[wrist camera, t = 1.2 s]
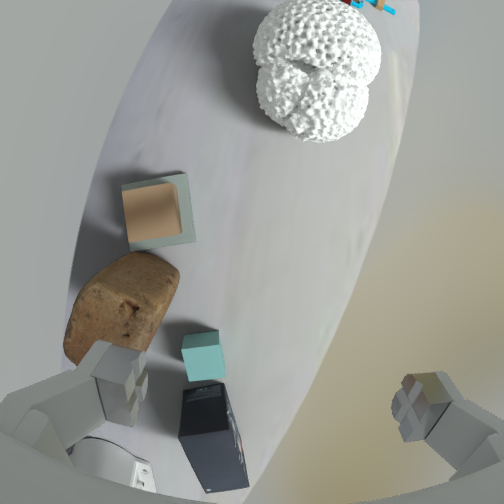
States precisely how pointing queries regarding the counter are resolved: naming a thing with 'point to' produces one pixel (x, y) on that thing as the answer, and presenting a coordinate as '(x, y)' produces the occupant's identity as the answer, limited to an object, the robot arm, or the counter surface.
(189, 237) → the square tile
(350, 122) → the white coral
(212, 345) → the teal cube
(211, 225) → the counter surface
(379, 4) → the gear mechanism
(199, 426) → the small box
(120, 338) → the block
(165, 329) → the counter surface
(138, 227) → the walnut base block
